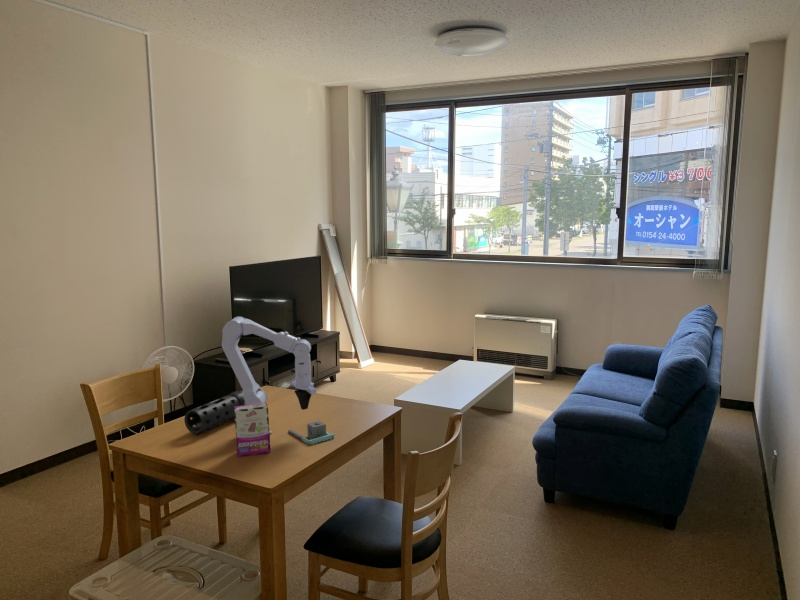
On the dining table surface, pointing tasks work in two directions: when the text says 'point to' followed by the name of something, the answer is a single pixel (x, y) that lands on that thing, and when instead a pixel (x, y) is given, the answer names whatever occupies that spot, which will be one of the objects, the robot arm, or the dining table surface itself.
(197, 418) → the muzzle brake
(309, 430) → the dice cube
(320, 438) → the guide lane
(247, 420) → the candy bar box
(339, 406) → the dining table surface
